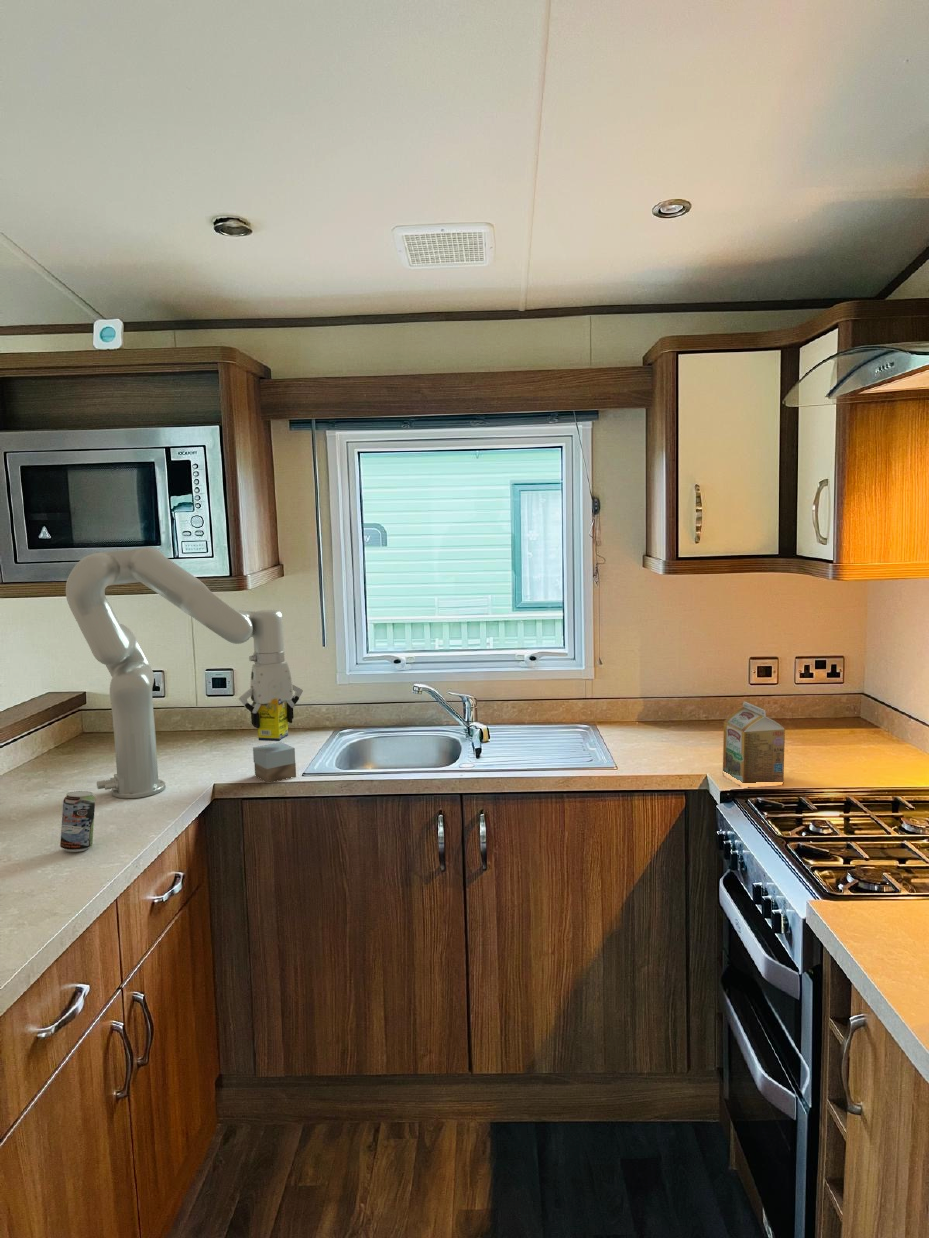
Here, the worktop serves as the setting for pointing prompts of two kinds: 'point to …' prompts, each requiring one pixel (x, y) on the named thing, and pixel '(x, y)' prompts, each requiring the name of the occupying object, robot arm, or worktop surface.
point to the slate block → (274, 755)
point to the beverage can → (77, 821)
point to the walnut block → (275, 772)
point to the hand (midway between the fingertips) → (272, 724)
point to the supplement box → (273, 721)
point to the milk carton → (753, 746)
